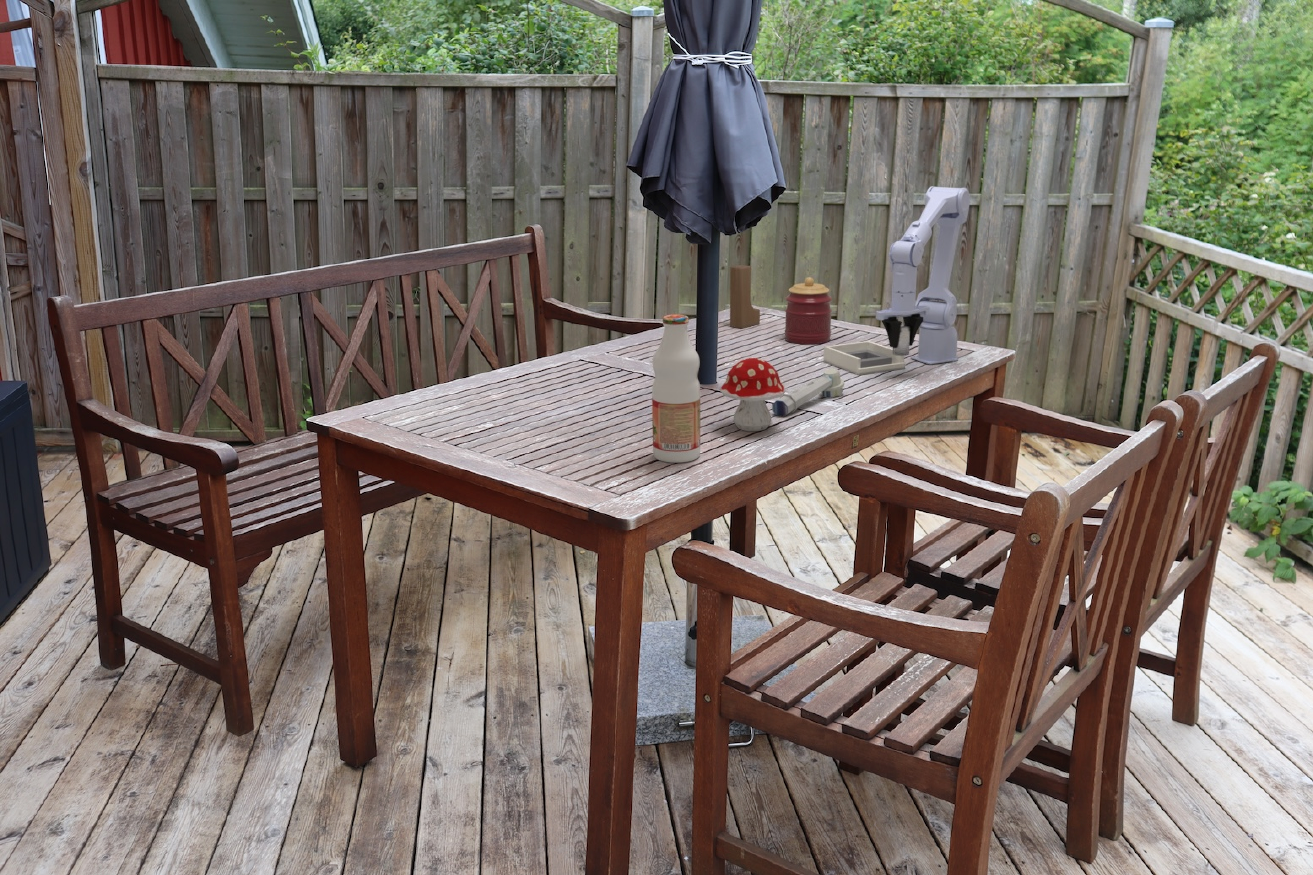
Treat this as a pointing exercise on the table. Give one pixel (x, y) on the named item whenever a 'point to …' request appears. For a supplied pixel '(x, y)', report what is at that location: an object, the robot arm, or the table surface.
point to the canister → (808, 313)
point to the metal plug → (903, 341)
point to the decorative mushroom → (752, 392)
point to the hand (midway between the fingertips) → (901, 346)
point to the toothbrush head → (810, 392)
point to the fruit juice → (676, 394)
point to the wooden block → (742, 298)
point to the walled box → (863, 358)
